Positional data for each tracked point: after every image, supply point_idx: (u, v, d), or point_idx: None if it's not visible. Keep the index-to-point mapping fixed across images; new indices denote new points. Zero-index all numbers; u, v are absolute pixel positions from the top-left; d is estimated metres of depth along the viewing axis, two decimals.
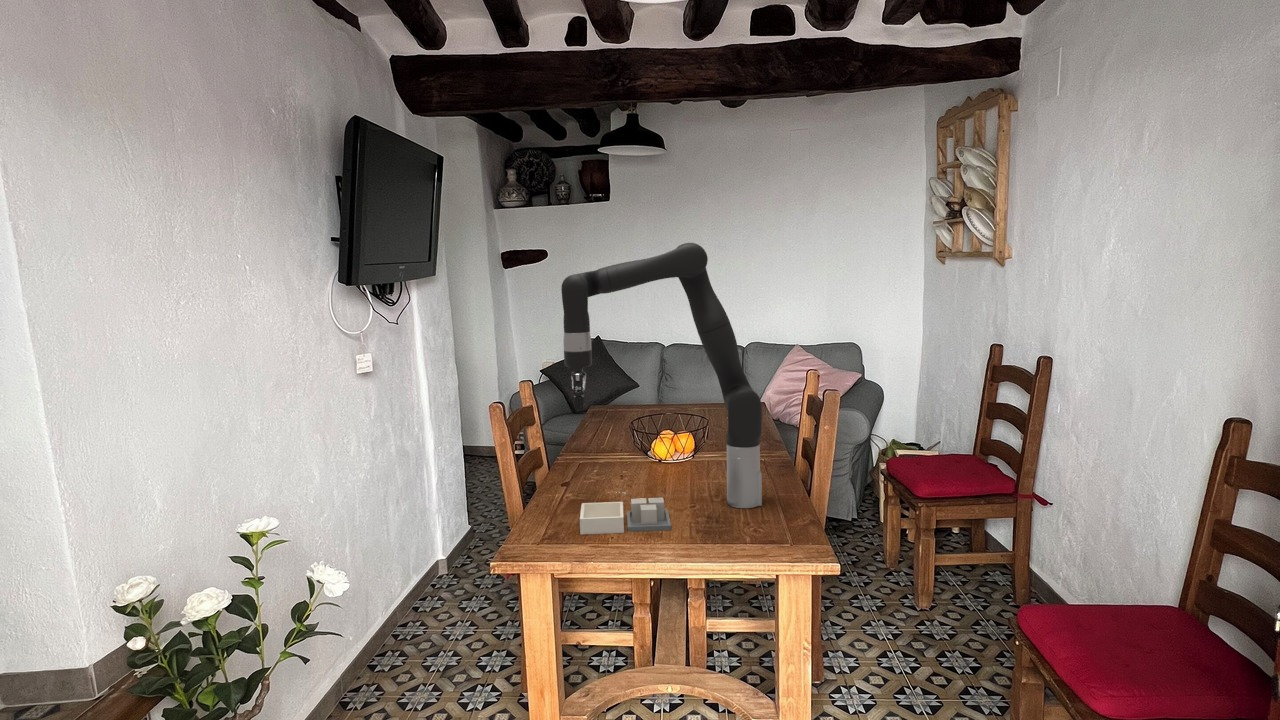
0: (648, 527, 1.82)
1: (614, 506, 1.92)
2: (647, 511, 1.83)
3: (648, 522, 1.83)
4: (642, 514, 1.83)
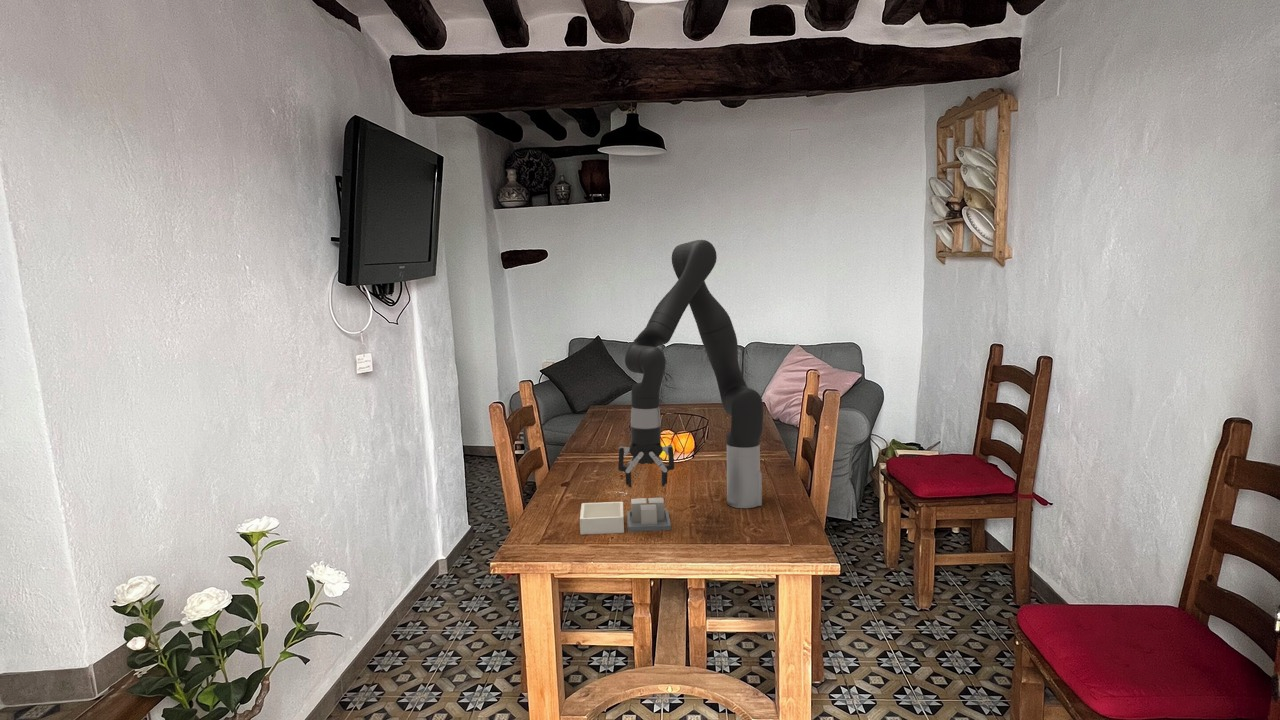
0: (648, 527, 1.82)
1: (614, 506, 1.92)
2: (647, 511, 1.83)
3: (648, 522, 1.83)
4: (642, 514, 1.83)
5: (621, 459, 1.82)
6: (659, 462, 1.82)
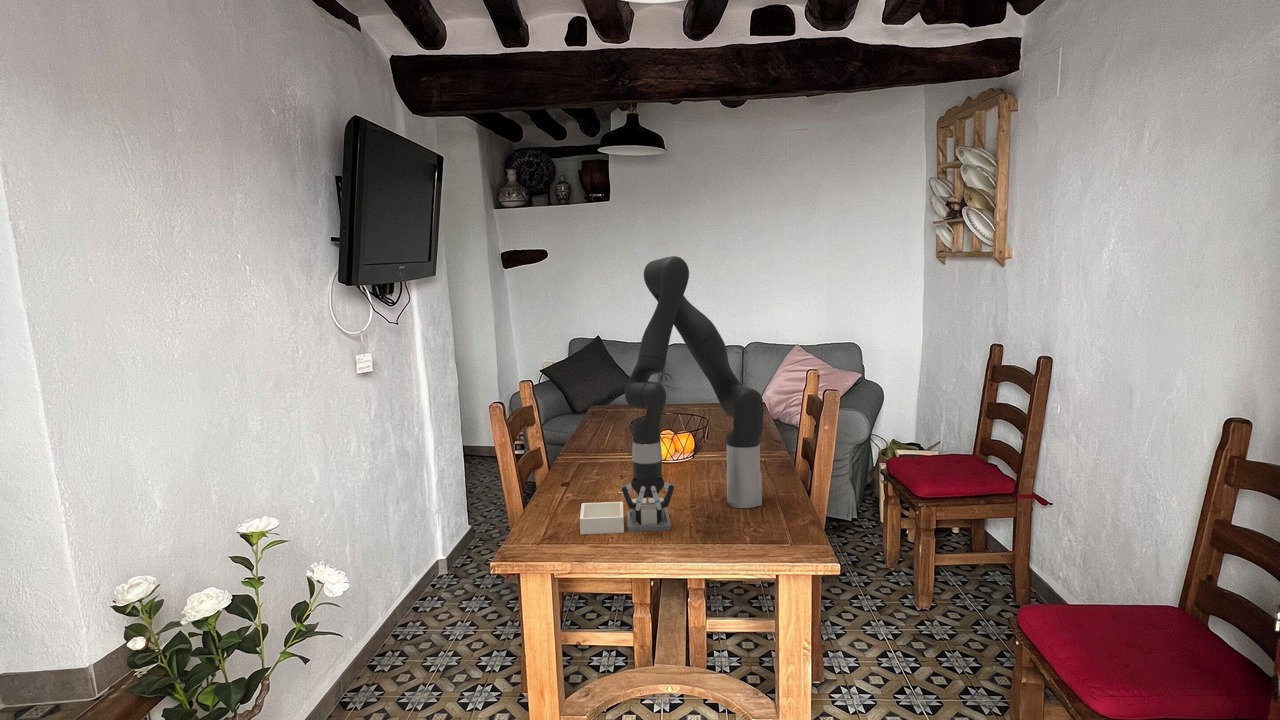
0: (648, 527, 1.82)
1: (614, 506, 1.92)
2: (647, 511, 1.83)
3: (648, 522, 1.83)
4: (642, 514, 1.83)
5: (628, 497, 1.83)
6: (657, 498, 1.83)
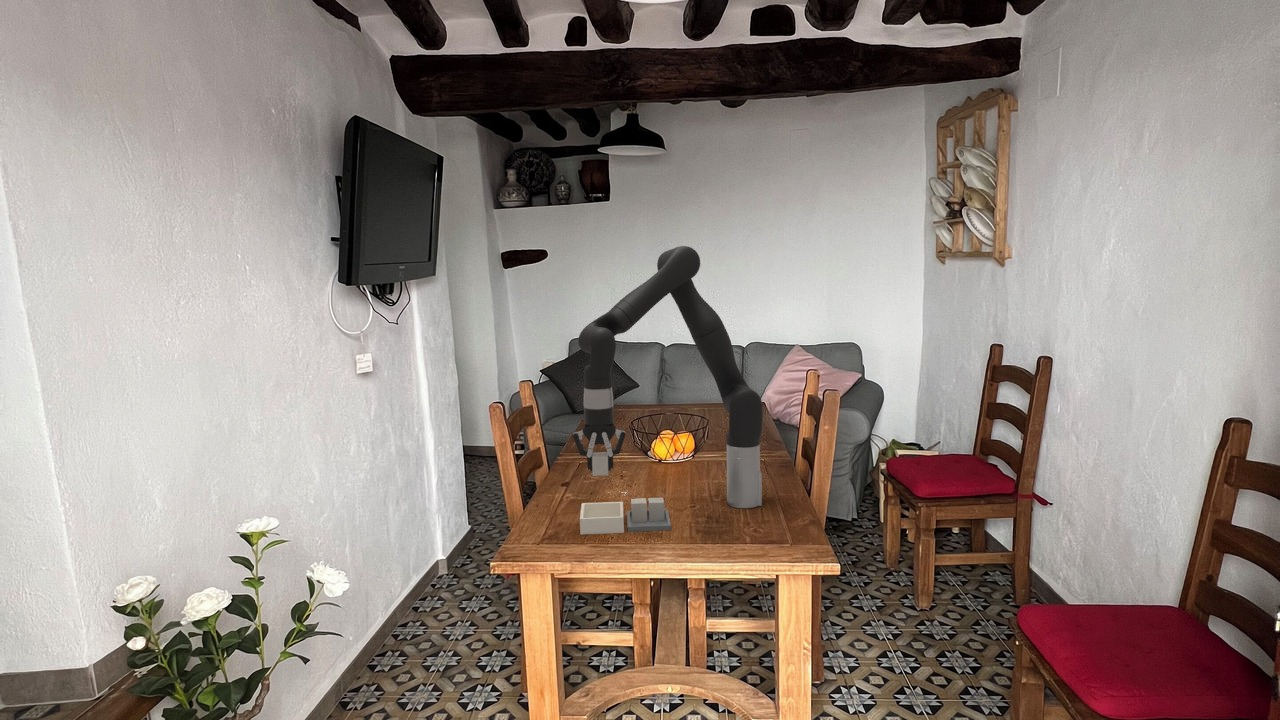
0: (648, 527, 1.82)
1: (614, 506, 1.92)
2: (598, 458, 1.83)
3: (600, 468, 1.83)
4: (593, 461, 1.83)
5: (579, 444, 1.83)
6: (608, 445, 1.83)
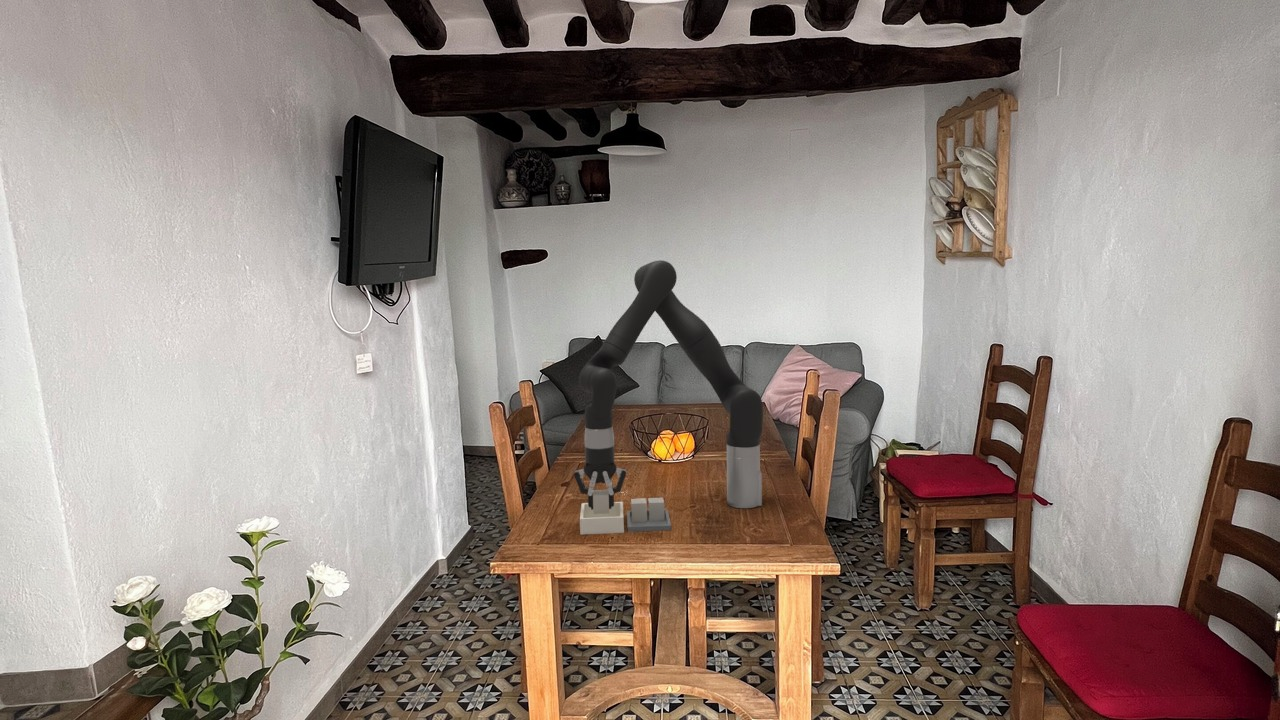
0: (648, 527, 1.82)
1: (614, 506, 1.92)
2: (599, 496, 1.84)
3: (600, 507, 1.85)
4: (594, 499, 1.84)
5: (580, 482, 1.84)
6: (609, 484, 1.84)
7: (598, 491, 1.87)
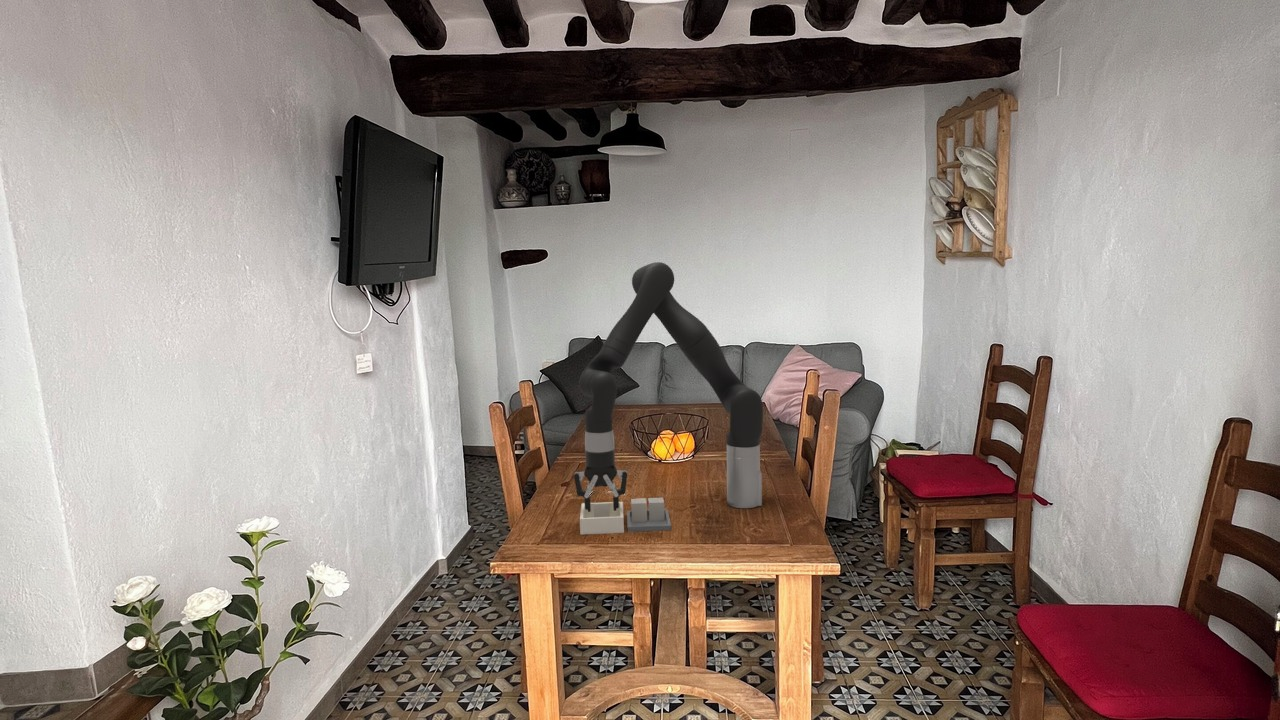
0: (648, 527, 1.82)
1: None
2: (600, 510, 1.85)
3: None
4: (595, 513, 1.85)
5: (578, 484, 1.84)
6: (612, 486, 1.84)
7: (599, 505, 1.87)
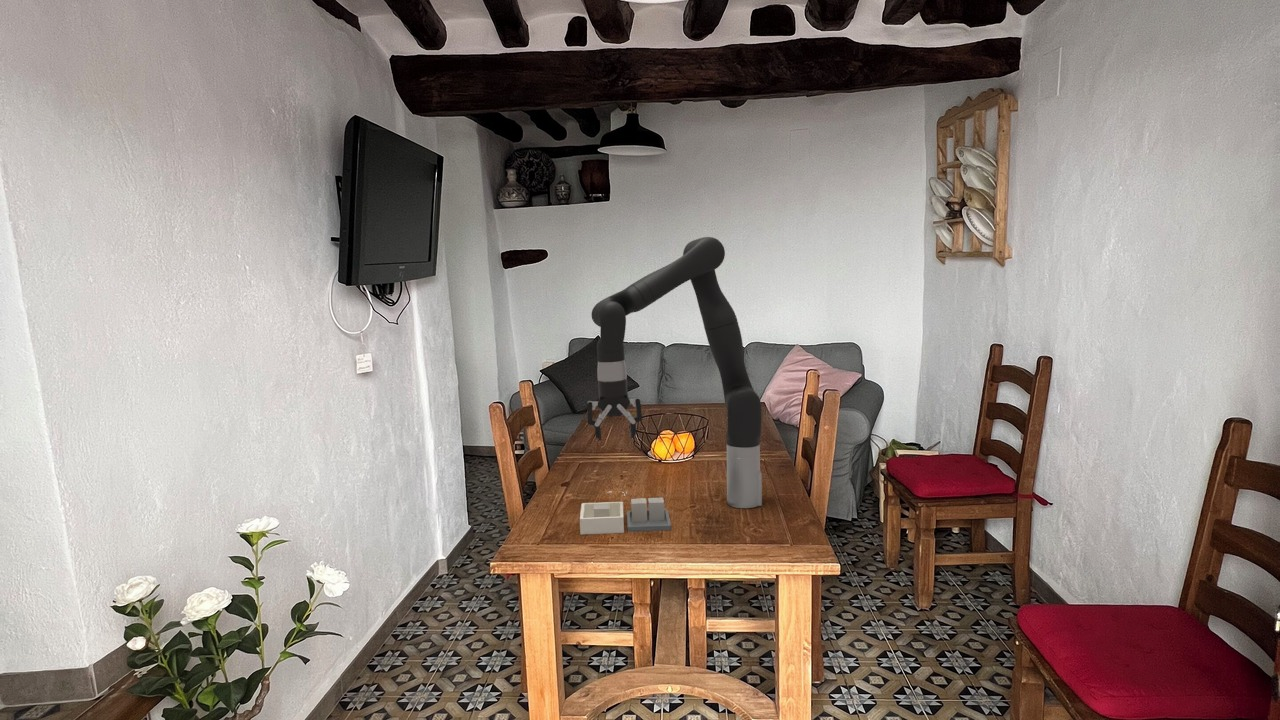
0: (648, 527, 1.82)
1: (614, 506, 1.92)
2: (600, 510, 1.85)
3: None
4: (595, 513, 1.85)
5: (590, 413, 1.87)
6: (627, 414, 1.87)
7: (599, 505, 1.87)
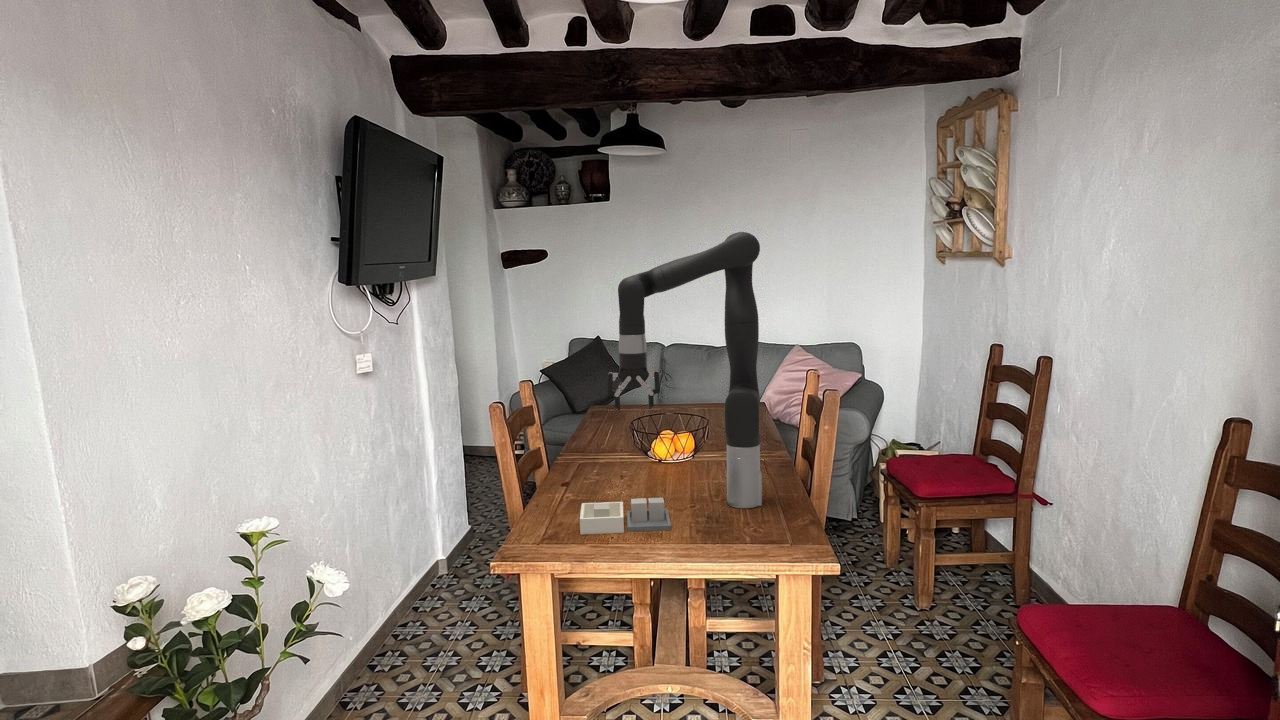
0: (648, 527, 1.82)
1: (614, 506, 1.92)
2: (600, 510, 1.85)
3: None
4: (595, 513, 1.85)
5: (611, 384, 1.95)
6: (646, 386, 1.95)
7: (599, 505, 1.87)
